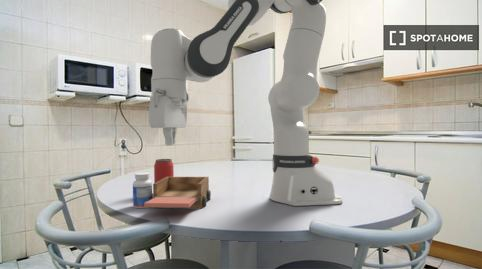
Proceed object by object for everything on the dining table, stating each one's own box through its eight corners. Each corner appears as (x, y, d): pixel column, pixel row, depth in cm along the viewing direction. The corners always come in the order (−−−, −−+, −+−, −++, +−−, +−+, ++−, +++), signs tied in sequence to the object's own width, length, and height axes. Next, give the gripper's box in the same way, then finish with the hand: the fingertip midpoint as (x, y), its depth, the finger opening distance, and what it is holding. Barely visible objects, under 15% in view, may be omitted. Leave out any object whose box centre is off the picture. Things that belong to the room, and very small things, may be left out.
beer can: (176, 191, 101) (175, 158, 100) (169, 195, 94) (169, 160, 94) (158, 191, 101) (158, 158, 101) (151, 195, 95) (150, 160, 95)
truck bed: (211, 197, 91) (211, 176, 91) (204, 208, 79) (204, 184, 79) (164, 197, 92) (164, 176, 92) (150, 208, 80) (150, 183, 80)
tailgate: (198, 196, 79) (190, 203, 69) (198, 200, 79) (190, 207, 69) (155, 195, 79) (142, 202, 70) (155, 200, 79) (142, 207, 70)
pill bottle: (134, 204, 84) (134, 172, 84) (153, 203, 85) (152, 171, 85) (131, 209, 79) (131, 175, 78) (151, 207, 80) (151, 174, 80)
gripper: (168, 86, 62) (169, 147, 62) (190, 96, 82) (191, 142, 83) (140, 87, 62) (142, 148, 63) (169, 97, 83) (170, 143, 83)
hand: (170, 145), depth 73 cm, fingers closed
